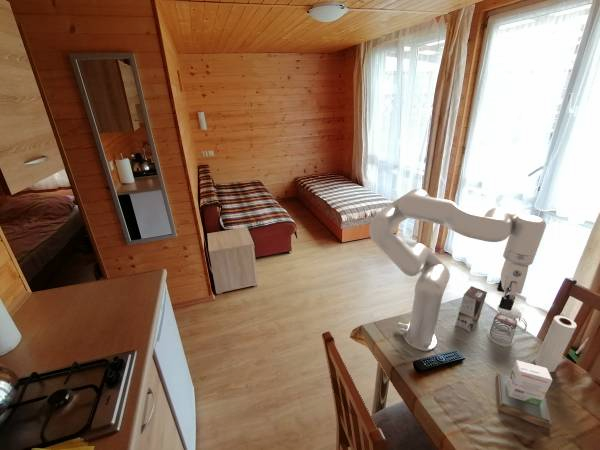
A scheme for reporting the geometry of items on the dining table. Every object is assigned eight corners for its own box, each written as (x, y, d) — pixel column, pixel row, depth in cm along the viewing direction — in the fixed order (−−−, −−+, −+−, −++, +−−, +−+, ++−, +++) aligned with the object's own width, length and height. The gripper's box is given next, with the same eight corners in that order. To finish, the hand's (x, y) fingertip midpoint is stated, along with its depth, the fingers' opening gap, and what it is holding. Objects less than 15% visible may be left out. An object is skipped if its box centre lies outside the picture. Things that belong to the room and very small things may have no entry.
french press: (488, 325, 129) (504, 276, 118) (520, 337, 122) (540, 287, 111) (484, 338, 122) (500, 288, 111) (517, 352, 115) (538, 301, 104)
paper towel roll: (549, 375, 106) (571, 330, 97) (531, 362, 111) (550, 318, 102) (560, 367, 109) (582, 322, 100) (541, 355, 114) (561, 311, 105)
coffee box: (470, 332, 125) (480, 301, 118) (455, 324, 129) (463, 294, 122) (478, 321, 130) (488, 292, 124) (463, 314, 135) (471, 285, 128)
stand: (498, 409, 95) (500, 403, 94) (495, 377, 105) (498, 371, 104) (548, 429, 89) (552, 423, 88) (540, 393, 100) (543, 387, 98)
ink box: (535, 392, 97) (548, 367, 92) (540, 406, 93) (553, 380, 88) (505, 384, 100) (515, 358, 95) (508, 396, 96) (519, 371, 91)
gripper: (539, 272, 82) (520, 320, 89) (529, 245, 95) (514, 288, 103) (506, 265, 85) (491, 312, 92) (502, 240, 99) (489, 282, 106)
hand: (503, 299), depth 97 cm, fingers open, 9 cm apart
